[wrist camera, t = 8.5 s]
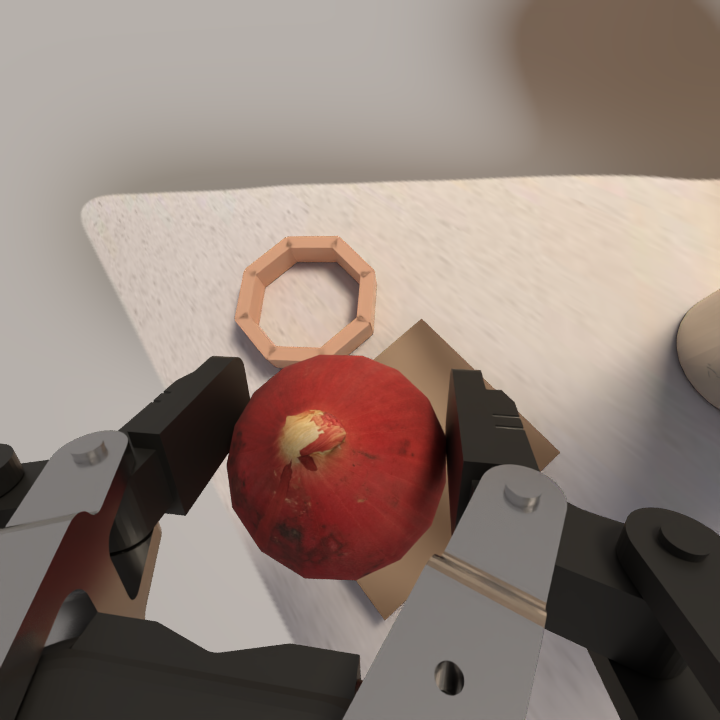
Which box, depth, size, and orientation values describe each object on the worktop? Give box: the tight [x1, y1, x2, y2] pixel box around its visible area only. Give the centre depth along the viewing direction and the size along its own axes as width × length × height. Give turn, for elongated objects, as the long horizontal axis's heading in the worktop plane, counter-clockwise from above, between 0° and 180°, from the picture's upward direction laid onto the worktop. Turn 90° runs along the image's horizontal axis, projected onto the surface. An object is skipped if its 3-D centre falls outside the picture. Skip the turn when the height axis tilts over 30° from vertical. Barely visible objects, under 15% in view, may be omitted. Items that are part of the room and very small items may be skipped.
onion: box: [227, 355, 446, 580], centre depth 10 cm, size 6×6×8 cm
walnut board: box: [356, 319, 560, 620], centre depth 25 cm, size 14×12×2 cm
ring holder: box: [235, 236, 377, 368], centre depth 29 cm, size 10×10×2 cm
